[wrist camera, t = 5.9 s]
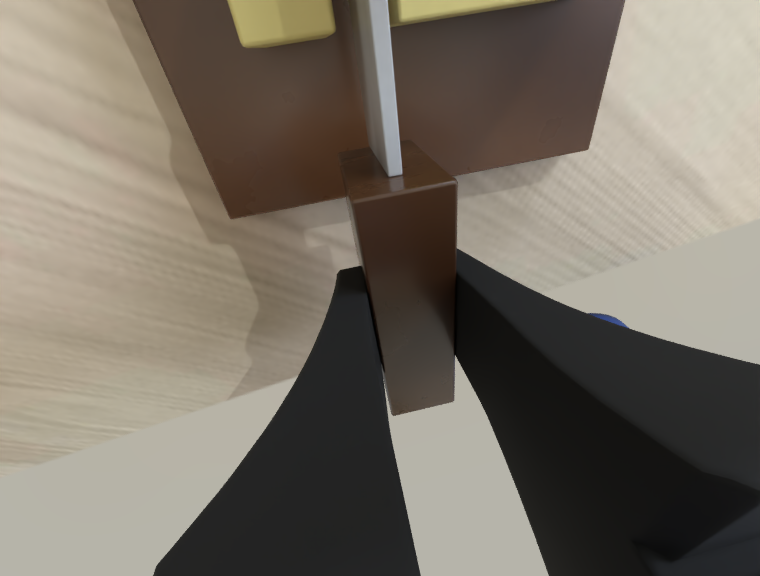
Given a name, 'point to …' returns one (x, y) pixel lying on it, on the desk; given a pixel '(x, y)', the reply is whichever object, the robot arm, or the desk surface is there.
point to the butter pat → (281, 21)
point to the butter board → (412, 86)
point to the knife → (401, 231)
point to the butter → (445, 9)
